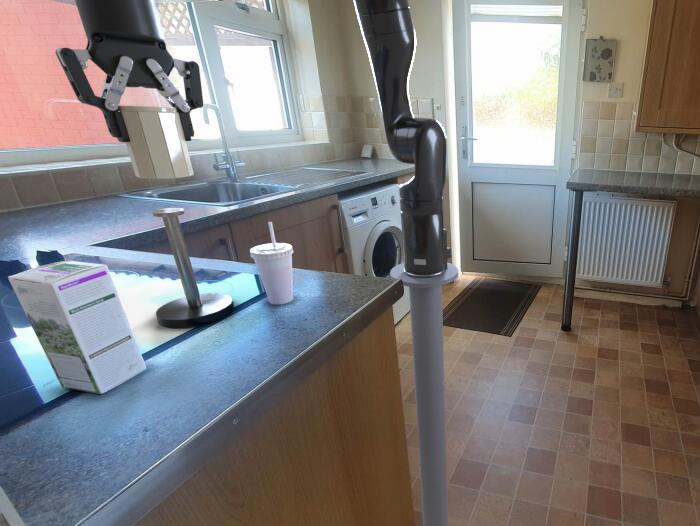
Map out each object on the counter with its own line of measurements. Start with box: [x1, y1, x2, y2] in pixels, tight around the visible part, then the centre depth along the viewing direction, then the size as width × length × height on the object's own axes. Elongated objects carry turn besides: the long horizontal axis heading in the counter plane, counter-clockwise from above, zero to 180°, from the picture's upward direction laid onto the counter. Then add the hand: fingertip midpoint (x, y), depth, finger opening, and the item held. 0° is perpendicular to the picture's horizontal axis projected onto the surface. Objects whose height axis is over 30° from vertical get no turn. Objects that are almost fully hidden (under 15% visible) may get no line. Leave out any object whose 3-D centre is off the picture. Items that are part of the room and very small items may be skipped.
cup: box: [118, 104, 195, 180], centre depth 56 cm, size 6×6×9 cm
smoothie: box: [249, 221, 294, 306], centre depth 70 cm, size 6×6×14 cm
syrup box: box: [7, 260, 147, 395], centre depth 47 cm, size 6×6×14 cm
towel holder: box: [152, 207, 235, 329], centre depth 63 cm, size 10×10×17 cm
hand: (156, 140), depth 56 cm, fingers closed on cup, 6 cm apart
